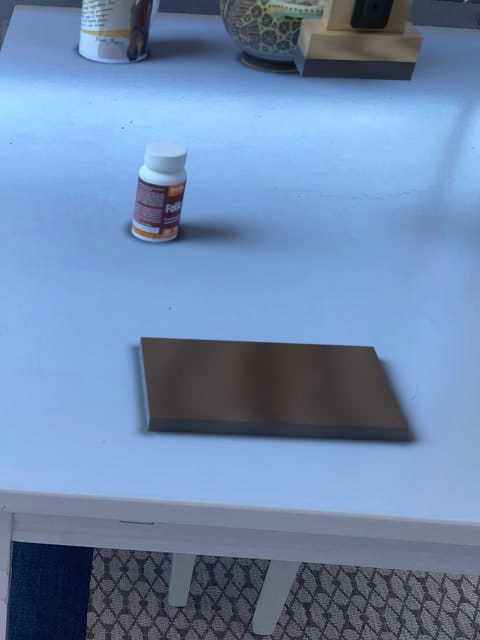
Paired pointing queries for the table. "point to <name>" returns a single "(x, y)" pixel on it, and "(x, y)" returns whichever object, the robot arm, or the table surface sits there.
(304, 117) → the table surface
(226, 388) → the board
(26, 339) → the table surface
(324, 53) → the wooden handled stamp
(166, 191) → the pill bottle
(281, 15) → the decorative ceramic pot
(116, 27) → the mug
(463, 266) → the table surface
